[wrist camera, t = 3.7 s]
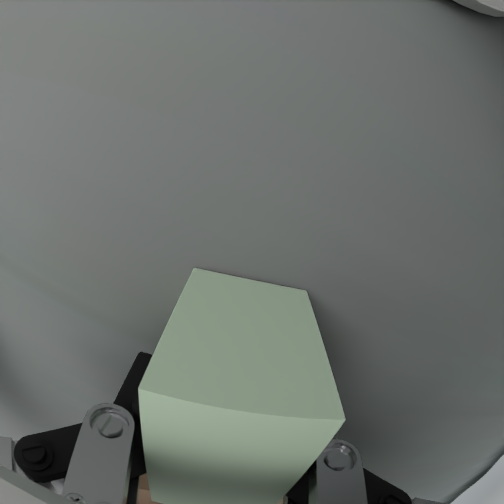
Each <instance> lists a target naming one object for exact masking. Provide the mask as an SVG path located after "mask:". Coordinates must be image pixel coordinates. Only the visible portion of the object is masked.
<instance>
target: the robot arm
mask: <svg viewBox="0 0 504 504" xmlns="http://www.w3.org/2000/svg"><path fill="white" fill-rule="evenodd" d="M453 1H455V2H457V3H459V4H461V5H463V6H466V7H468V8H470V9H473V10H475V11H477V12H479V13H483V14H487V15H491V16H495V17H504V0H453ZM152 356H153V355H151V354H147V353H143V352H140V353H139V354H138V355H137V357H136V359H135V361H134V363H133V365H132V367H131V369H130V371H129V373H128V375H127V377H126V379H125V381H124V383H123V385H122V387H121V389H120V391H119V393H118V395H117V397H116V399H115V401H114V403H113V404H110V403H104V404H98V405H96V406H93V407H92V408H91V409H90V410H88V412H87V413H86V415H85V417H84V420H83V423H80V424H76V425H72V426H68V427H64V428H60V429H56V430H51V431H47V432H42V433H37V434H33V435H28V436H25V437H23V438H21V439H20V440H19V441H13V440H12V438H10V437H0V504H138V503H139V493H140V483H141V475H143V474H146V473H147V471H146V464H145V457H144V449H143V441H142V432H141V421H140V409H139V394H138V387H139V385H140V383H141V381H142V378H143V376H144V374H145V371H146V369H147V367H148V365H149V362H150V360H151V358H152ZM283 504H446V503H440V502H435V501H430V500H425V499H420V498H416V497H415V498H414V499H413V500H412V499H410V497H409V496H408V494H407V493H405V492H404V491H403V490H401V489H399V488H397V487H395V486H393V485H392V484H390V483H388V482H386V481H385V480H383V479H381V478H379V477H378V476H376V475H374V474H373V473H371V472H369V471H368V470H366V469H364V468H363V465H362V459H361V455H360V452H359V451H358V450H357V448H356V447H355V446H354V445H352V444H351V443H349V442H347V441H345V440H340V439H334V437H333V438H332V439H331V441H330V442H329V443H328V445H327V446H326V447H325V449H324V450H323V451H322V452H321V454H320V455H319V456H318V457H317V459H316V460H315V461H314V462H313V464H312V465H311V466H310V467H309V468H308V470H307V471H306V472H305V473H304V474H303V475H302V477H301V478H300V479H299V480H298V481H297V482H296V483H295V484H294V486H293V487H292V488H291V489H290V490H289V491H288V492H287V493H286V494H285V495H284V496H283Z"/></svg>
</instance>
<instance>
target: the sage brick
mask: <svg viewBox="0 0 504 504" xmlns="http://www.w3.org/2000/svg"><path fill="white" fill-rule="evenodd" d="M138 394H139V409H140V421H141V432H142V441H143V449H144V457H145V464H146V471H147V478H148V484H149V489H150V495H151V500H152V501H154V502H158V503H162V504H277V503H278V502H279V501H280V500H281V498H282V497H283V496H284V495H285V494H286V493H287V492H288V491H289V490H290V489H291V488H292V487H293V486H294V484H295V483H296V482H297V481H298V480H299V479H300V478H301V477H302V475H303V474H304V473H305V472H306V471H307V470H308V468H309V467H310V466H311V465H312V464H313V462H314V461H315V460H316V459H317V457H318V456H319V455H320V454H321V452H322V451H323V450H324V449H325V447H326V446H327V445H328V443H329V442H330V441H331V439H332V438H333V437H334V435H335V434H336V433H337V431H338V430H339V429H340V427H341V426H342V424H343V423H344V422H345V420H346V419H345V415H344V412H343V408H342V405H341V401H340V398H339V394H338V391H337V387H336V384H335V380H334V377H333V374H332V370H331V367H330V364H329V360H328V357H327V354H326V350H325V347H324V344H323V341H322V337H321V334H320V331H319V328H318V325H317V321H316V318H315V315H314V312H313V309H312V306H311V303H310V300H309V297H308V294H307V291H306V290H301V289H295V288H290V287H285V286H280V285H275V284H270V283H265V282H260V281H255V280H250V279H245V278H241V277H236V276H231V275H226V274H221V273H217V272H212V271H207V270H203V269H198V268H194V269H193V271H192V273H191V275H190V277H189V279H188V281H187V283H186V285H185V287H184V289H183V291H182V293H181V295H180V297H179V299H178V302H177V304H176V306H175V308H174V310H173V312H172V314H171V316H170V318H169V321H168V323H167V325H166V327H165V329H164V331H163V334H162V336H161V338H160V340H159V342H158V344H157V347H156V349H155V351H154V353H153V356H152V358H151V360H150V362H149V365H148V367H147V369H146V371H145V374H144V376H143V378H142V381H141V383H140V385H139V387H138Z"/></svg>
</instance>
